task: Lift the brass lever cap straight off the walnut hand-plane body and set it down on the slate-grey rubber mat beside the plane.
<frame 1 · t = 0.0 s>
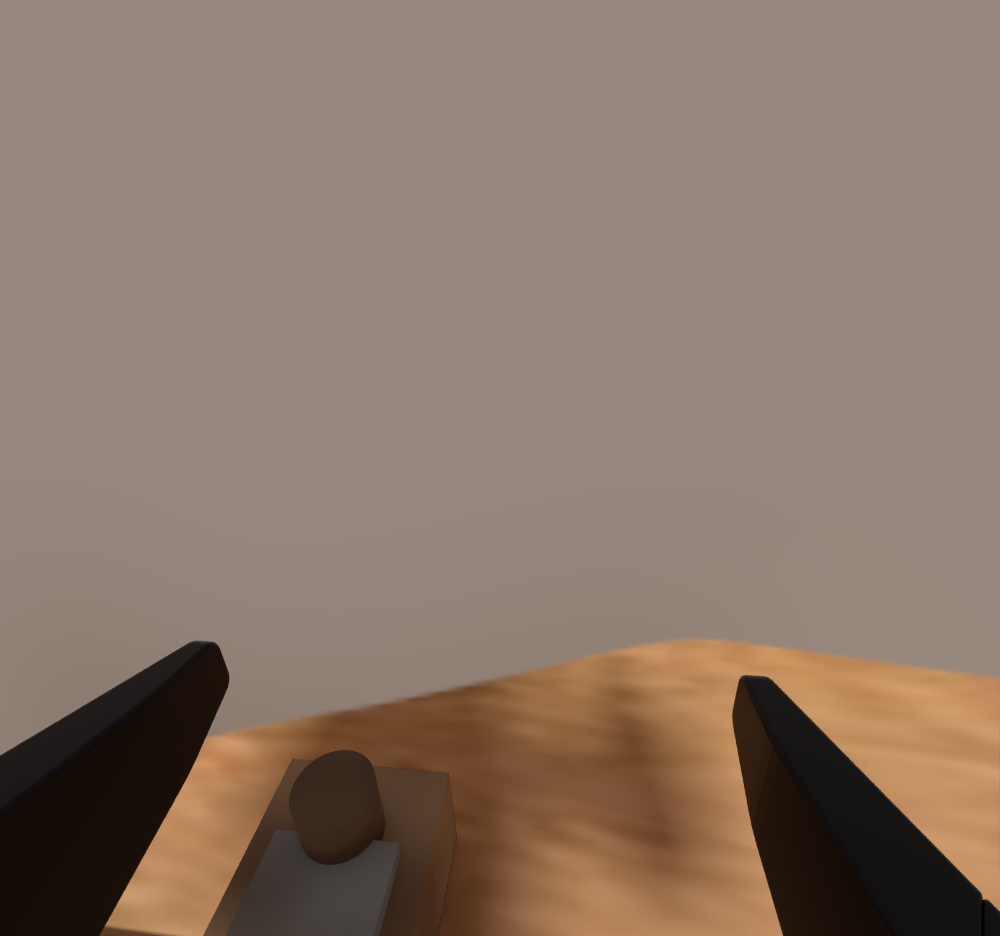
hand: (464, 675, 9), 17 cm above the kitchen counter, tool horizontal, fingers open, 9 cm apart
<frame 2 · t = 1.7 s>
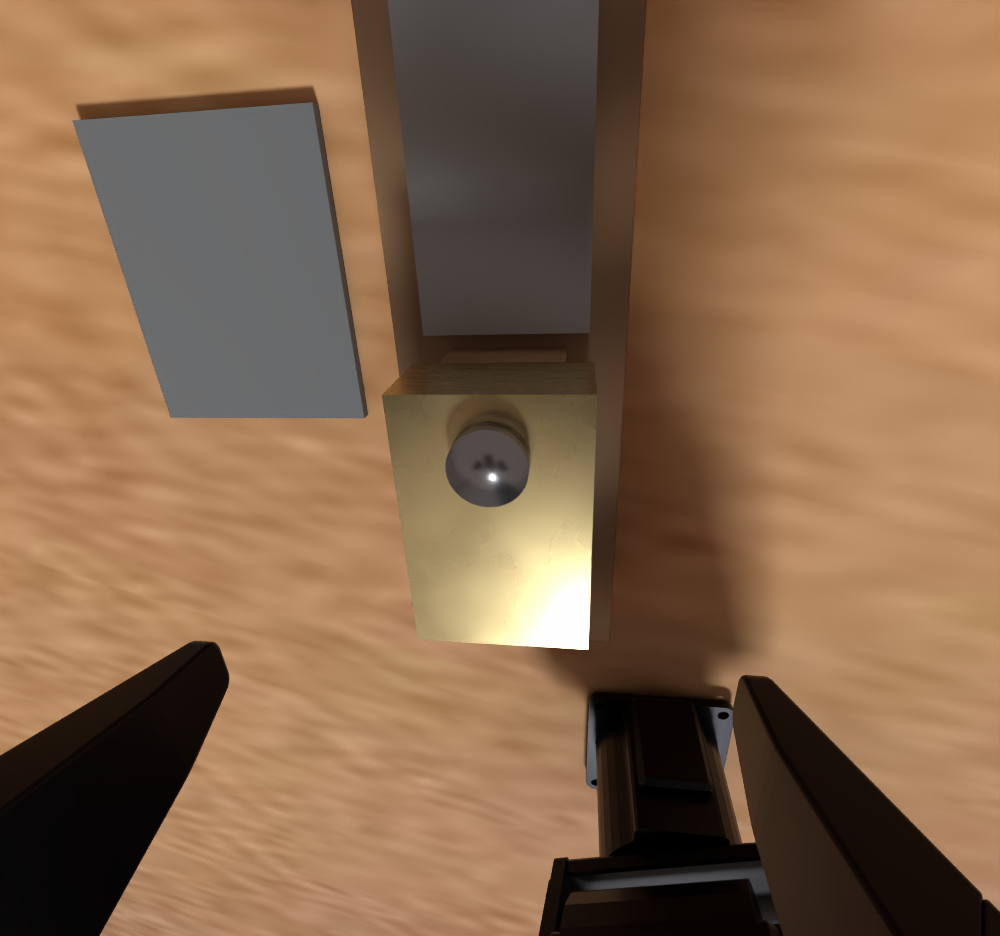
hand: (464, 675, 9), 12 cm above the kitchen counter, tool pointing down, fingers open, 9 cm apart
plane body: (520, 303, 18), on the kitchen counter
lever cap: (506, 485, 15), point 5 cm above the kitchen counter, touching plane body
mat: (237, 280, 19), on the kitchen counter
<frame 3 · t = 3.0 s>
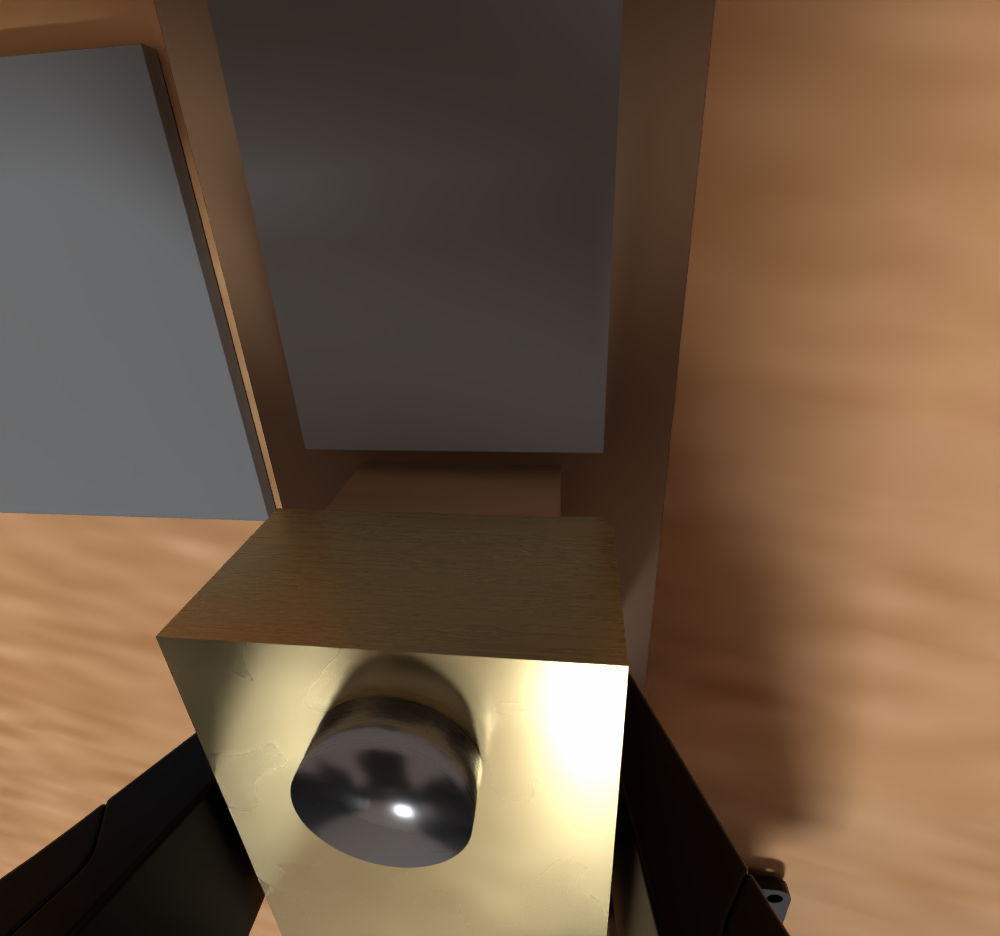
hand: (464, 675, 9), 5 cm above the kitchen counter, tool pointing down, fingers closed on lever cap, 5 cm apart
plane body: (492, 363, 12), on the kitchen counter
lever cap: (458, 697, 9), point 5 cm above the kitchen counter, touching gripper, plane body
mat: (69, 325, 13), on the kitchen counter
when the fingers open (1 cm above the kitchen counter, at t = 6.3 s): lever cap drops 1 cm, resting on mat.
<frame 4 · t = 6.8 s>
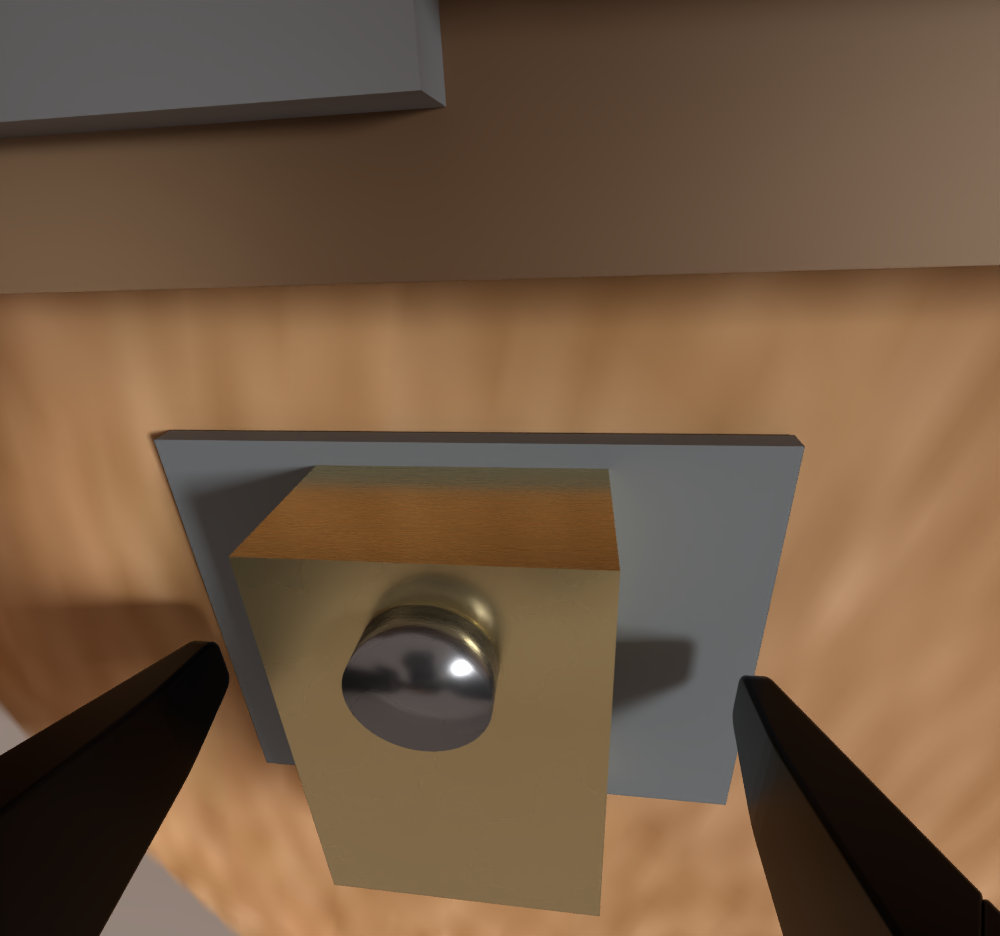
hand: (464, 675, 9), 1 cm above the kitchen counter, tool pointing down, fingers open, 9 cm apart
lever cap: (472, 638, 10), resting on mat
mat: (474, 627, 10), on the kitchen counter
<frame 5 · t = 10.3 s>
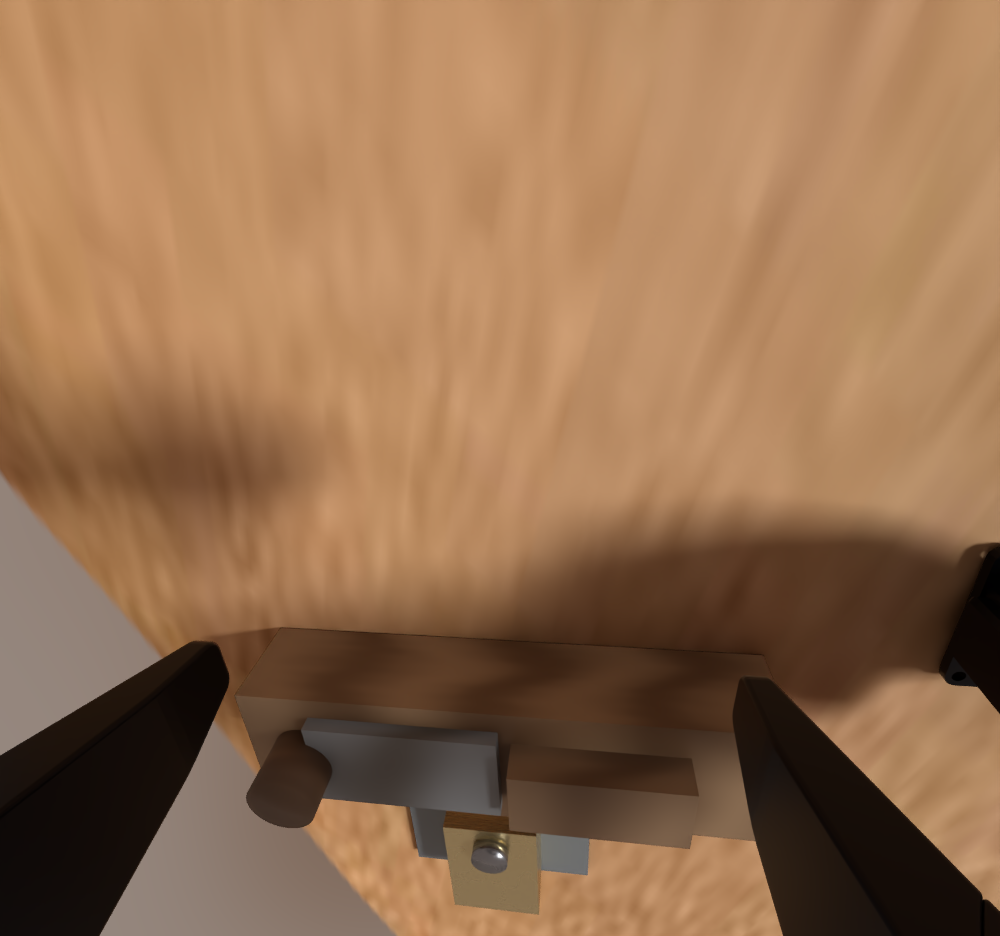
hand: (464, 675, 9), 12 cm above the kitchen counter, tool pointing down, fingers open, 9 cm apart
plane body: (510, 691, 26), on the kitchen counter
lever cap: (499, 823, 30), resting on mat
mat: (499, 817, 31), on the kitchen counter
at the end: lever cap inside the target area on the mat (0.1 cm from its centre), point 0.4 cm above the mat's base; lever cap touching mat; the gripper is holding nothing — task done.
